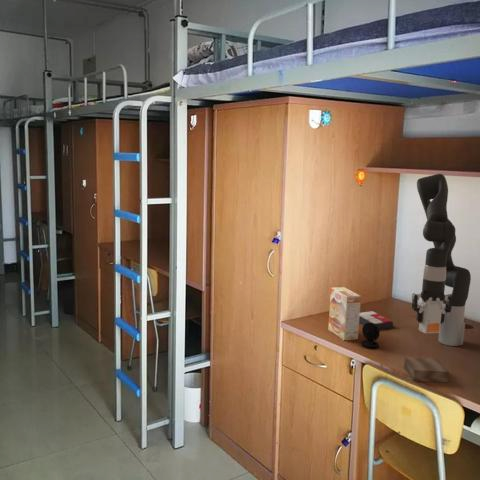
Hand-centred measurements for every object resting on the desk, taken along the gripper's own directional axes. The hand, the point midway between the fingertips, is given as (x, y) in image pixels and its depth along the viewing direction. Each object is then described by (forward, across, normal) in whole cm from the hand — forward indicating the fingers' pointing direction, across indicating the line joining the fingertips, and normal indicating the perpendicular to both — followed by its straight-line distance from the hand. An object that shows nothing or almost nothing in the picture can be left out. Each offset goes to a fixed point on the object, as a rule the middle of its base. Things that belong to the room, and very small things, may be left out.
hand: (429, 322), depth 196 cm
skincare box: (+4, 0, 0) cm, 4 cm away
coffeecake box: (+20, +23, -41) cm, 51 cm away
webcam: (+20, +14, -28) cm, 37 cm away
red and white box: (+20, +6, -58) cm, 61 cm away
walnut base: (+20, 0, 0) cm, 20 cm away
